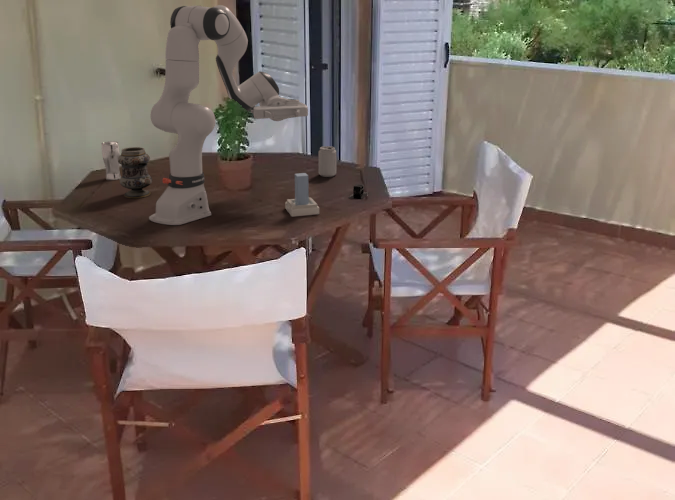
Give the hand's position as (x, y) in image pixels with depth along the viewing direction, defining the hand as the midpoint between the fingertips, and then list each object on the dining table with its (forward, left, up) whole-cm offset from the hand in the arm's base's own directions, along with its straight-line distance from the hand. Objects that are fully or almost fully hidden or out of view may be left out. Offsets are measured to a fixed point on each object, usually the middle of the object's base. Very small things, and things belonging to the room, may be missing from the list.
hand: (284, 115), depth 268 cm
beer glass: (-7, +81, -32) cm, 87 cm away
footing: (-9, -12, -32) cm, 35 cm away
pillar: (-9, -12, -29) cm, 33 cm away
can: (+40, +5, -32) cm, 51 cm away
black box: (+19, -21, -33) cm, 43 cm away
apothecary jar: (-21, +55, -32) cm, 67 cm away
